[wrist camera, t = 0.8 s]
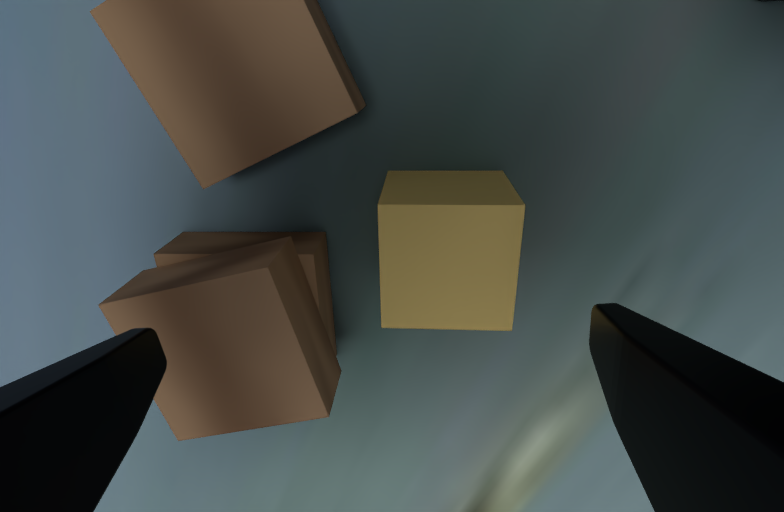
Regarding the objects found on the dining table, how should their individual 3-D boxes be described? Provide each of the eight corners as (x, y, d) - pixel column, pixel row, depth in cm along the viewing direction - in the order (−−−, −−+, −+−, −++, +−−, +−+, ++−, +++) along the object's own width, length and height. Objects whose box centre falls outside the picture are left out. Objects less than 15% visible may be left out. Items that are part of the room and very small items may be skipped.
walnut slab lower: (327, 229, 22) (313, 254, 19) (338, 350, 25) (327, 386, 22) (186, 229, 22) (153, 253, 20) (212, 347, 25) (187, 383, 22)
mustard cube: (502, 170, 20) (525, 205, 15) (493, 273, 22) (512, 330, 17) (388, 170, 20) (377, 204, 16) (390, 271, 22) (381, 327, 18)
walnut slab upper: (290, 236, 19) (267, 267, 16) (341, 370, 22) (328, 417, 19) (143, 270, 20) (98, 304, 17) (208, 394, 23) (178, 440, 20)
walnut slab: (283, -74, 17) (256, -98, 14) (367, 104, 19) (357, 113, 17) (139, 17, 19) (89, 11, 16) (232, 171, 21) (203, 189, 18)
